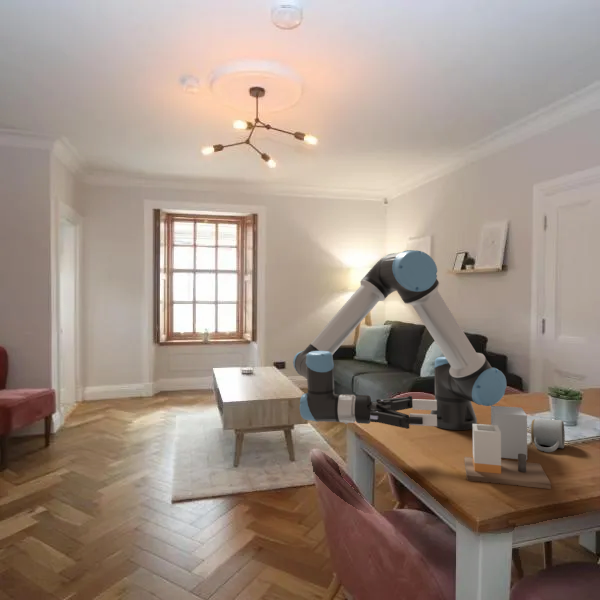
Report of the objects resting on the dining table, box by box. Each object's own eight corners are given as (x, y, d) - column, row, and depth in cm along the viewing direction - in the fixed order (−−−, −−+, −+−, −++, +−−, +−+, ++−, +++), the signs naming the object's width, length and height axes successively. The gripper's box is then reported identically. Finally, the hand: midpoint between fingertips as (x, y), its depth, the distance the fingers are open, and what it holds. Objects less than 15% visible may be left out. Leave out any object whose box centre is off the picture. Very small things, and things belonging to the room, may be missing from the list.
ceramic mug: (533, 438, 133) (533, 413, 133) (565, 443, 129) (564, 417, 128) (528, 450, 125) (528, 423, 124) (562, 456, 120) (562, 428, 120)
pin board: (464, 461, 117) (464, 441, 117) (539, 468, 112) (539, 448, 112) (467, 480, 106) (466, 458, 106) (550, 489, 100) (550, 466, 100)
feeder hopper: (490, 446, 127) (490, 405, 127) (521, 449, 125) (521, 407, 124) (494, 457, 120) (493, 413, 119) (527, 459, 117) (526, 415, 117)
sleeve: (472, 461, 114) (472, 423, 114) (498, 464, 112) (497, 425, 112) (474, 471, 108) (474, 430, 108) (501, 473, 106) (500, 432, 106)
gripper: (363, 409, 132) (437, 412, 126) (347, 438, 108) (437, 443, 102) (362, 384, 132) (436, 386, 126) (346, 408, 108) (436, 412, 102)
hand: (437, 412), depth 114 cm, fingers open, 13 cm apart
